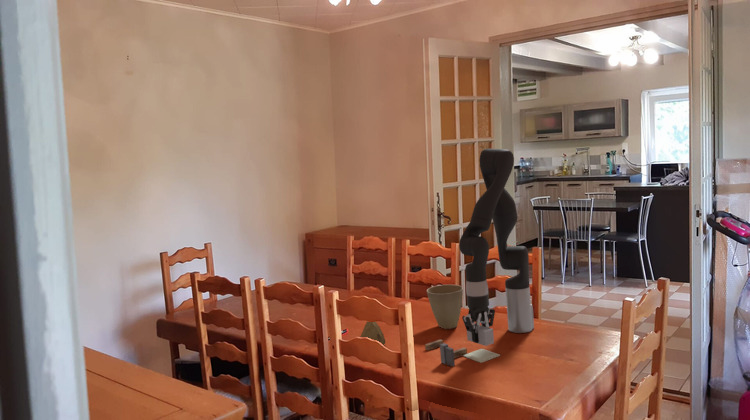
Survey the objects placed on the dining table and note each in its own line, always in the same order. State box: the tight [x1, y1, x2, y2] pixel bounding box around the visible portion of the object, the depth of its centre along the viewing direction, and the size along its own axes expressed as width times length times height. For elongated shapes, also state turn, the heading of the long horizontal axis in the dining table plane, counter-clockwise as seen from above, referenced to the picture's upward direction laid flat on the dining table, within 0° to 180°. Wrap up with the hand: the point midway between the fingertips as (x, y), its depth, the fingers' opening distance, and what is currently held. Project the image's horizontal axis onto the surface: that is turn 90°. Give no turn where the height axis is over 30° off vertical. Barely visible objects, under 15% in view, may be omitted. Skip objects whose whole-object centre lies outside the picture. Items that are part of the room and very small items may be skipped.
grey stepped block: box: [439, 342, 456, 367], centre depth 194 cm, size 2×5×7 cm, turn 33°
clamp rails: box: [424, 338, 468, 359], centre depth 206 cm, size 8×14×2 cm, turn 33°
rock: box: [360, 321, 386, 345], centre depth 220 cm, size 11×9×10 cm
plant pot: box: [426, 284, 464, 330], centre depth 234 cm, size 15×15×16 cm
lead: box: [466, 325, 495, 347], centre depth 198 cm, size 4×9×5 cm, turn 34°
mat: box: [462, 348, 501, 364], centre depth 199 cm, size 9×9×1 cm
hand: (480, 340), depth 198 cm, fingers closed on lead, 4 cm apart
